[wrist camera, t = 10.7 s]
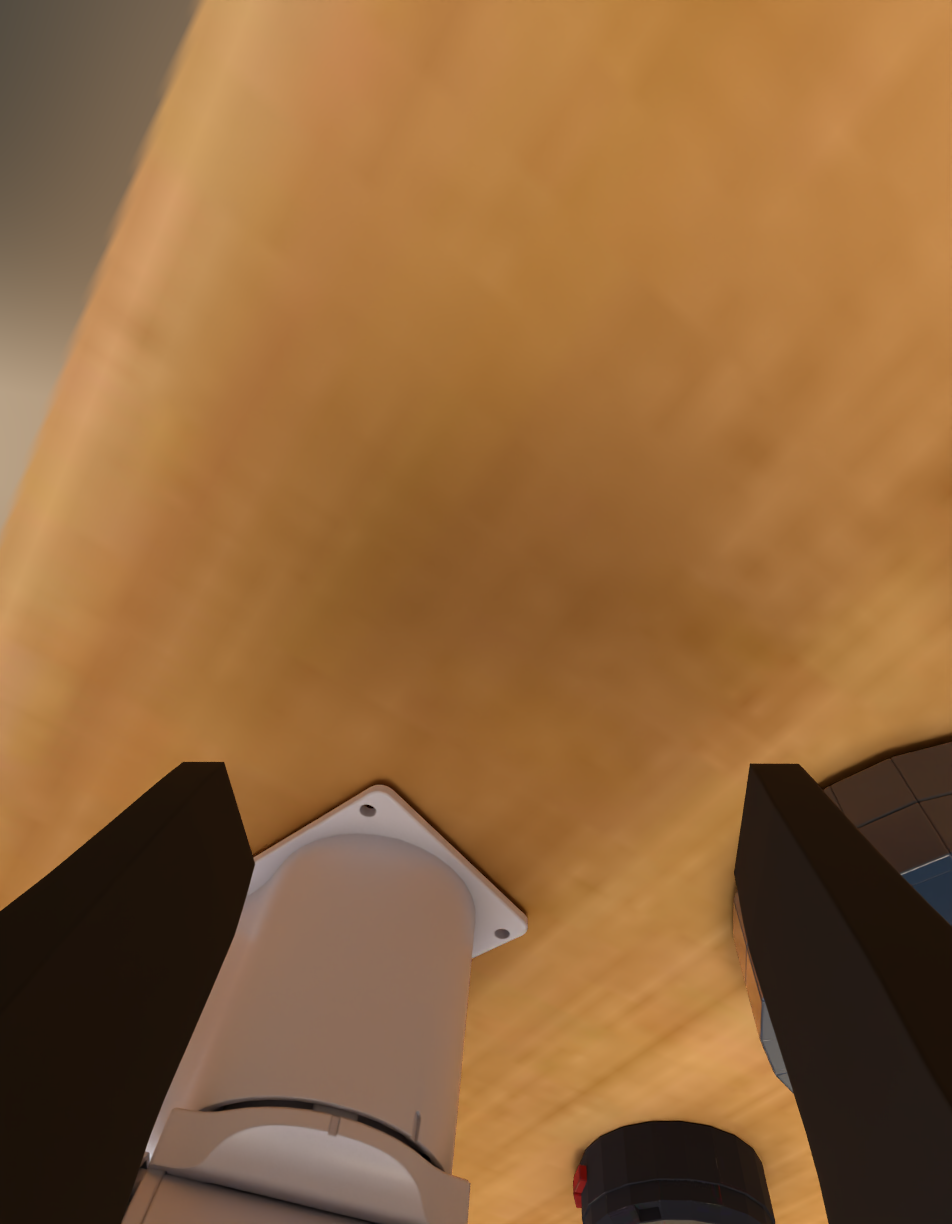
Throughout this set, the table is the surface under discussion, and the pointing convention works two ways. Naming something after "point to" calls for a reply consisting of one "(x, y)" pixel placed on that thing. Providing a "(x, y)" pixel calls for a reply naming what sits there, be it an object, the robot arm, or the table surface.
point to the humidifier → (671, 1177)
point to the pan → (882, 847)
